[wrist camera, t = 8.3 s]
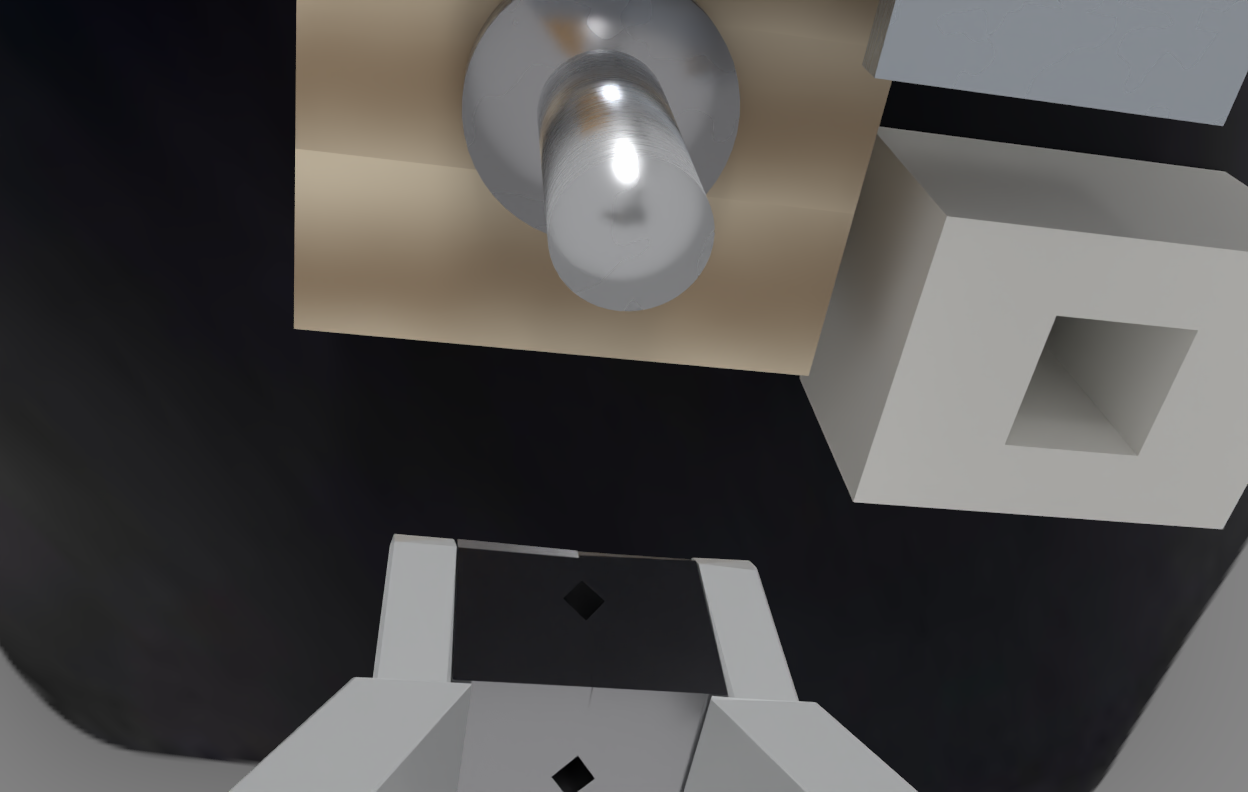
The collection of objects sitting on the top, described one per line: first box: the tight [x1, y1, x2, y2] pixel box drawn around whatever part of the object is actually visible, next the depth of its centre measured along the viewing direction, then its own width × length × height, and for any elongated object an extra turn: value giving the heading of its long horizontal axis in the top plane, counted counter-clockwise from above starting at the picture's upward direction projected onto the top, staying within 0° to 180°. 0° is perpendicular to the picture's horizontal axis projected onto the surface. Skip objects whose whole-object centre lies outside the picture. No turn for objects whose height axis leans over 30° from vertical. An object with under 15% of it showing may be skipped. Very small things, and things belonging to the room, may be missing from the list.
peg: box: [462, 0, 740, 311], centre depth 26 cm, size 6×6×14 cm
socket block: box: [294, 0, 892, 376], centre depth 29 cm, size 14×14×7 cm
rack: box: [800, 127, 1248, 529], centre depth 34 cm, size 9×12×7 cm
